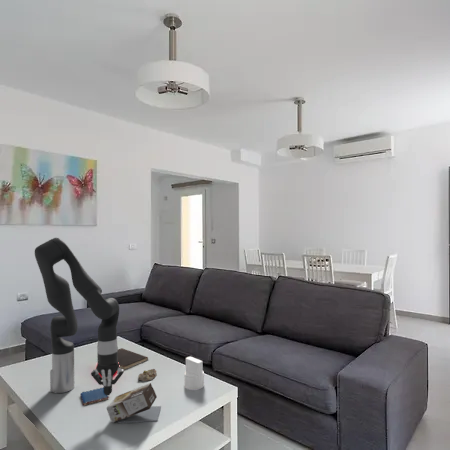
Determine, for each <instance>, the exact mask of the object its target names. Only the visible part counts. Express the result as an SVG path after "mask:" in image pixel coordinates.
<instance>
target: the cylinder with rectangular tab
mask: <svg viewBox="0 0 450 450" xmlns="http://www.w3.org/2000/svg"><path fill="white" fill-rule="evenodd" d="M203 369H204V367H203V360H201V359H199V358H196V357H193V356H187V357H185V371H184V377H183V378H184V388H185V389H186V390H188V391H189V390H190V391H197V390H201V389H202V388H204V386H205V375H204V374H205V372H204V370H203Z"/></svg>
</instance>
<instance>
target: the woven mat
mask: <svg viewBox="0 0 450 450" xmlns="http://www.w3.org/2000/svg"><path fill="white" fill-rule="evenodd" d="M79 396H80V397H81V402H82V405H83V406H87V405H92V404H95V403H96V404H97V403H98V402H99V403H101V402H103V401H106V400H107V401H108V400H109V398H110V395H106V396H105V394H104V386H103V387H100V388H94V389H92V390H86V391H82V392H80V395H79Z"/></svg>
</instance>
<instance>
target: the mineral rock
mask: <svg viewBox="0 0 450 450" xmlns="http://www.w3.org/2000/svg"><path fill="white" fill-rule="evenodd" d="M156 376H157V370H156V368H152V369H147V370H143V372H142V373H139V374H138V377H137V378H138V380H139V381H142V382H149V381H152V380H153V379H155V378H156Z"/></svg>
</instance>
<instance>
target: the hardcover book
mask: <svg viewBox="0 0 450 450" xmlns="http://www.w3.org/2000/svg"><path fill="white" fill-rule="evenodd" d="M148 360H149V357H148V356H146V355H143V354H140V353H138V352H137V353H136V352H135V351H131V350H128V349H125V348H118V362H119V365H120V368H121V369H124V371H125V370H127V369H129V368H132V367H134V366H137V365H139V364H141V363H143V362H147V361H148Z"/></svg>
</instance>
